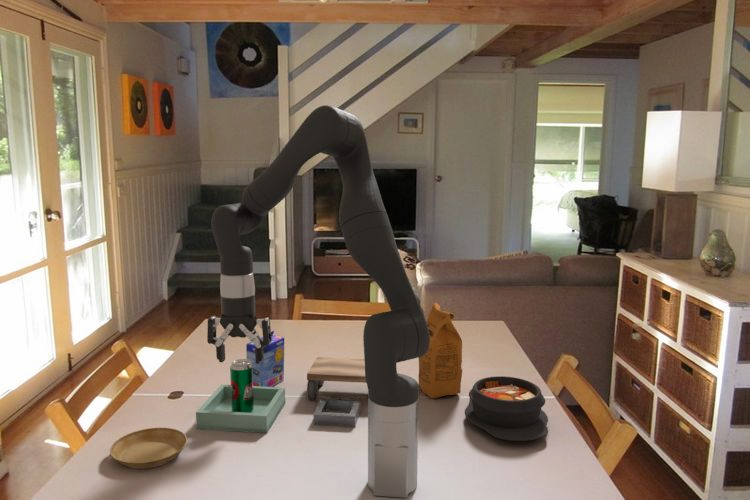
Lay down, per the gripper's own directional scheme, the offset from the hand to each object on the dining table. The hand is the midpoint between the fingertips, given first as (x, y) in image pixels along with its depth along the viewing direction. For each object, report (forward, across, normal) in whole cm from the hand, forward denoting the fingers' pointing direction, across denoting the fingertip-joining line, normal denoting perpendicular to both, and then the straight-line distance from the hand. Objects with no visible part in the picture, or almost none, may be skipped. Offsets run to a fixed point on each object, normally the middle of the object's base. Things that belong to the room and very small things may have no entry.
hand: (240, 361), depth 143 cm
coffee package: (+14, +45, +21) cm, 52 cm away
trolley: (+13, +22, +16) cm, 30 cm away
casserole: (+14, +60, +4) cm, 62 cm away
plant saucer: (+14, -13, -19) cm, 27 cm away
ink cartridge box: (+13, 0, +20) cm, 24 cm away
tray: (+13, 0, 0) cm, 13 cm away
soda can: (+12, 0, 0) cm, 12 cm away
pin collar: (+13, +22, +2) cm, 26 cm away
